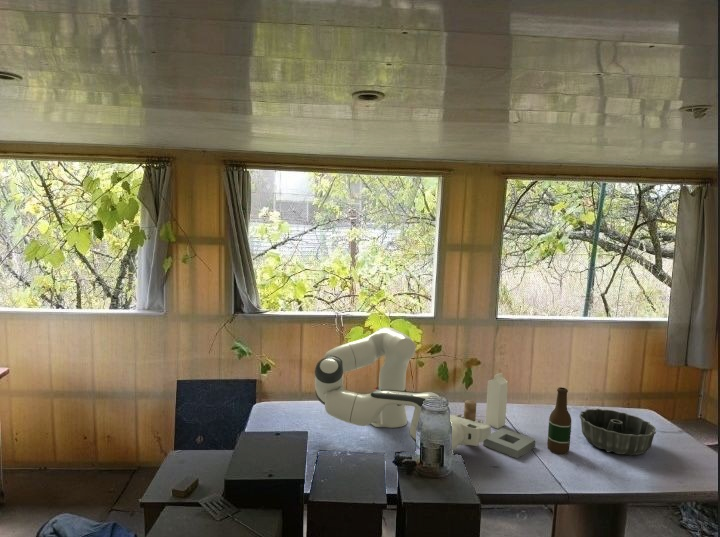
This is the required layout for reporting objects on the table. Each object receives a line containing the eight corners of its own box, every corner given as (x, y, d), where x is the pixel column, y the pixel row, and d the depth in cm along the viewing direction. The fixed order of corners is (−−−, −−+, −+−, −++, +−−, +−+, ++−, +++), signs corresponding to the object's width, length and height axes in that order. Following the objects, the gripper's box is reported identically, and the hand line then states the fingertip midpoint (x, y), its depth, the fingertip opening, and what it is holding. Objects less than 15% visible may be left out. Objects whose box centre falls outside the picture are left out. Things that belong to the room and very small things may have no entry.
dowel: (460, 442, 184) (462, 402, 182) (466, 439, 187) (468, 399, 185) (469, 446, 180) (472, 405, 179) (476, 442, 184) (478, 402, 182)
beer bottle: (559, 456, 175) (564, 393, 173) (542, 447, 182) (546, 386, 180) (573, 452, 178) (578, 390, 176) (556, 444, 185) (561, 384, 183)
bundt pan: (607, 427, 204) (609, 404, 203) (669, 454, 180) (672, 429, 179) (562, 436, 192) (564, 412, 192) (623, 467, 169) (625, 440, 168)
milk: (505, 425, 202) (509, 374, 200) (497, 428, 198) (501, 377, 196) (492, 420, 206) (496, 370, 204) (484, 424, 202) (488, 373, 200)
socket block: (483, 445, 182) (483, 437, 181) (501, 435, 192) (501, 427, 191) (517, 458, 172) (517, 450, 172) (534, 447, 182) (535, 439, 181)
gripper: (429, 431, 178) (445, 420, 190) (481, 447, 167) (495, 434, 178) (430, 415, 178) (446, 404, 189) (482, 430, 166) (496, 418, 177)
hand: (470, 419), depth 183 cm, fingers open, 7 cm apart
